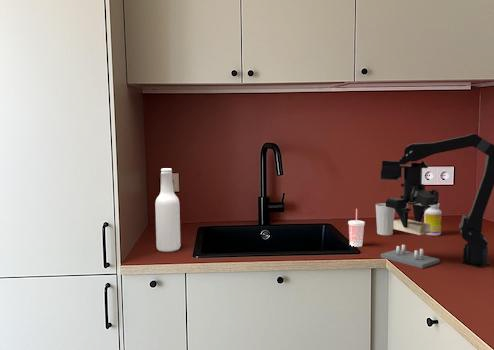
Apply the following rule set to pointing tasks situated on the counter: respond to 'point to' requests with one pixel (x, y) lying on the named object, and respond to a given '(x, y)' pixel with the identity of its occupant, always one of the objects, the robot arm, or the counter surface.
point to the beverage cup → (356, 232)
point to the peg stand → (410, 257)
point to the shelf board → (412, 227)
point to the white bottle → (167, 215)
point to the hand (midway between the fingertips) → (411, 226)
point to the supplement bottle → (433, 219)
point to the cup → (384, 219)
